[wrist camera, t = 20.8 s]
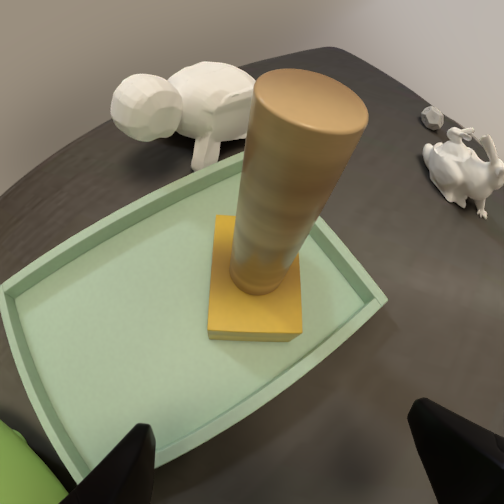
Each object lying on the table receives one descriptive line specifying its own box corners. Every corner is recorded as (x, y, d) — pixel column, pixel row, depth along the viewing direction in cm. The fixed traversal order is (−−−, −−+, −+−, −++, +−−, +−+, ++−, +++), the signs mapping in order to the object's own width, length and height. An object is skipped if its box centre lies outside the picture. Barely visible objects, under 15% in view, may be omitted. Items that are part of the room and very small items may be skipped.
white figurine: (487, 216, 27) (534, 172, 18) (474, 248, 24) (533, 199, 15) (425, 149, 30) (461, 94, 21) (402, 168, 27) (445, 102, 19)
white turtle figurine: (210, 121, 31) (88, 144, 20) (235, 56, 25) (102, 50, 15) (263, 160, 29) (136, 200, 18) (299, 89, 23) (160, 82, 13)
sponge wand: (289, 342, 17) (444, 222, 5) (208, 339, 17) (187, 193, 4) (286, 243, 20) (364, 61, 8) (215, 238, 20) (225, 37, 8)
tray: (97, 488, 11) (86, 497, 10) (10, 297, 16) (-5, 288, 14) (374, 308, 20) (388, 299, 18) (252, 163, 24) (255, 146, 22)
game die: (424, 116, 34) (433, 102, 32) (441, 132, 33) (450, 118, 31) (414, 117, 33) (422, 102, 31) (431, 134, 32) (441, 120, 29)
